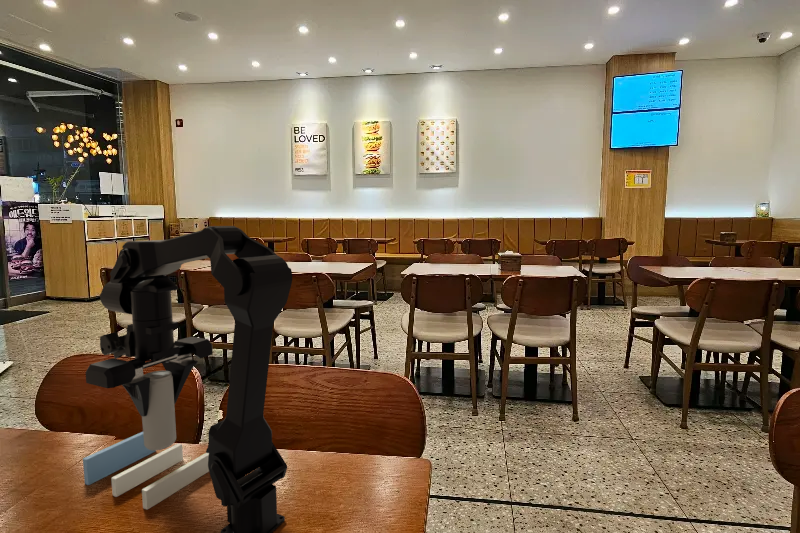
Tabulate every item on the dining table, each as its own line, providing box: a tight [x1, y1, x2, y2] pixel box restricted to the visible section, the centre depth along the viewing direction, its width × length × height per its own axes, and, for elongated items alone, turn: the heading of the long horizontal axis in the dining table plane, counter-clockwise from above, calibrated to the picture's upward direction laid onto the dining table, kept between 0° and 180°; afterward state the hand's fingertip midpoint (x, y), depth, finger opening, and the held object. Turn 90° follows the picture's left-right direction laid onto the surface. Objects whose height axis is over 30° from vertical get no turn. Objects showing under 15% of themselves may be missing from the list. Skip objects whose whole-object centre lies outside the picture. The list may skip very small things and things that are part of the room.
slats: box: [82, 431, 210, 510], centre depth 77 cm, size 16×12×4 cm
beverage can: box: [141, 370, 177, 452], centre depth 74 cm, size 5×5×12 cm
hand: (158, 409), depth 74 cm, fingers closed on beverage can, 5 cm apart
